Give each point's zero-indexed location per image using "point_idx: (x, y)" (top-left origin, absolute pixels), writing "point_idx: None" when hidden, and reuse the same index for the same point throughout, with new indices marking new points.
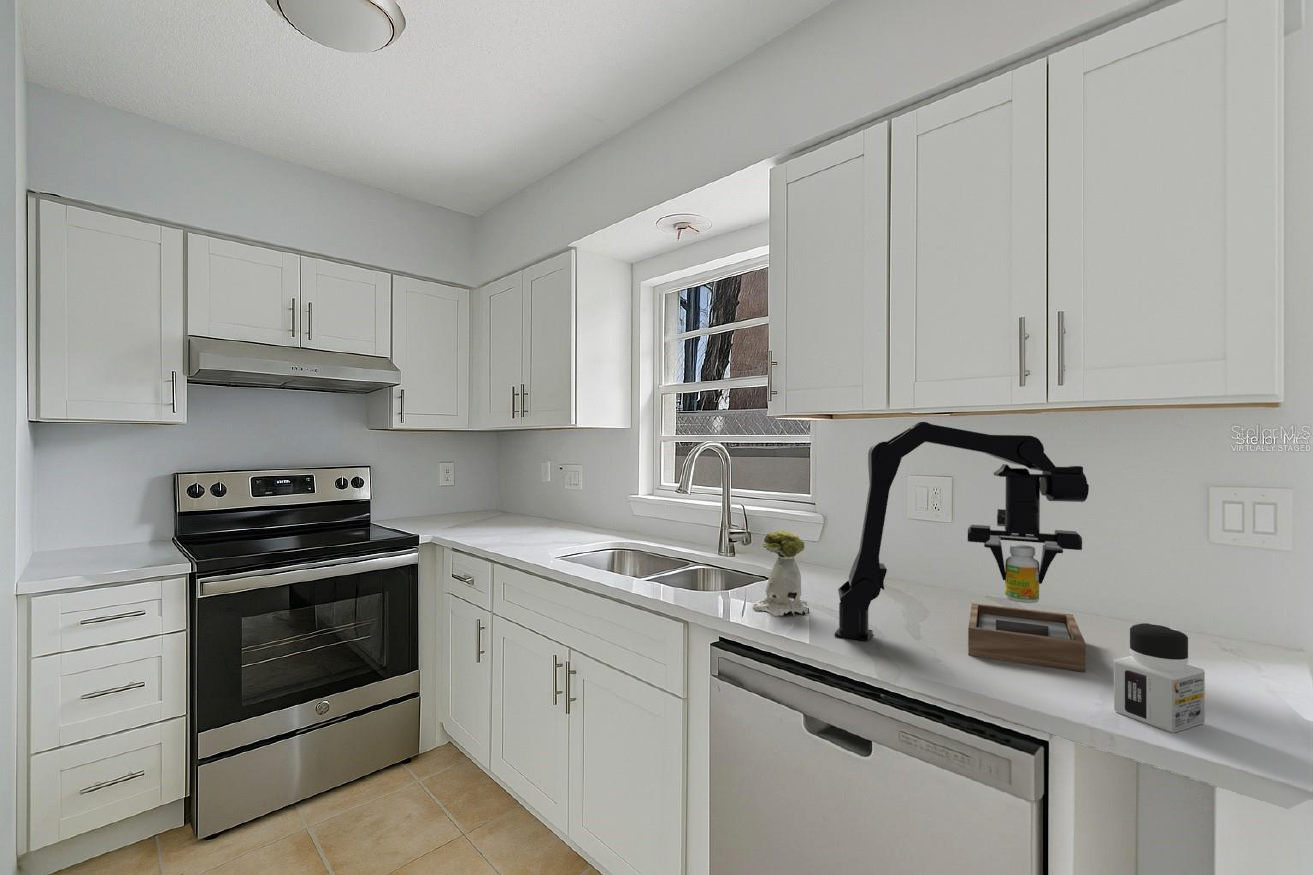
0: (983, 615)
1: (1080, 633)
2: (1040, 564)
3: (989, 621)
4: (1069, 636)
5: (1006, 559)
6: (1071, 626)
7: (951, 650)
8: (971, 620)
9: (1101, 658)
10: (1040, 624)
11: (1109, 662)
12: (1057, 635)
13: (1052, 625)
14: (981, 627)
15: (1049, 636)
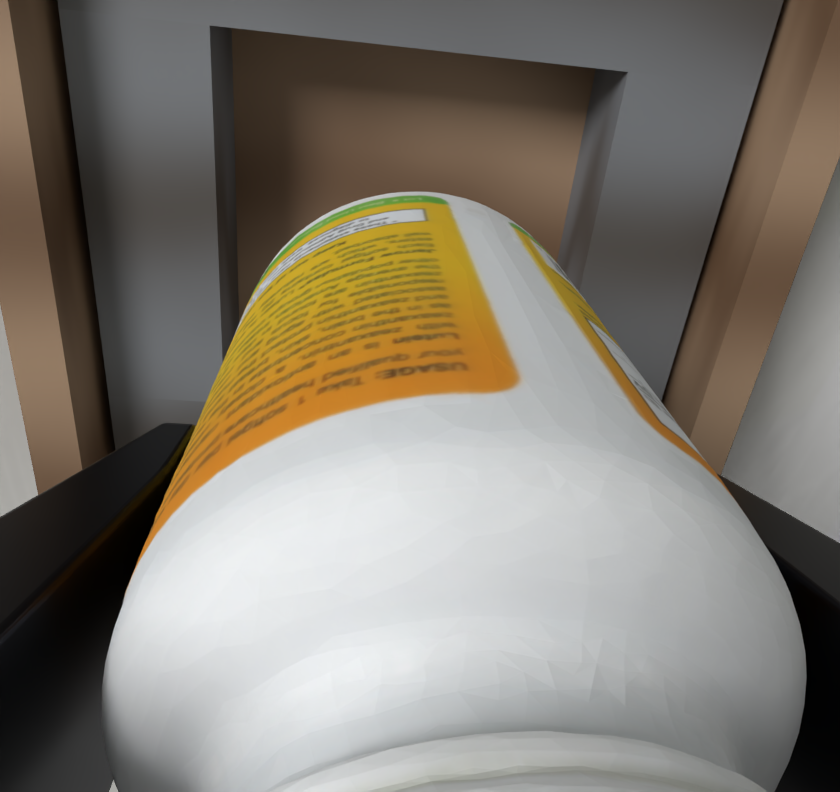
0: None
1: (728, 441)
2: (826, 620)
3: (161, 124)
4: (683, 323)
5: (114, 780)
6: (746, 286)
7: (21, 445)
8: (38, 414)
9: (802, 259)
10: (576, 40)
11: (810, 316)
12: (610, 330)
13: (671, 29)
14: (123, 338)
15: (584, 198)
